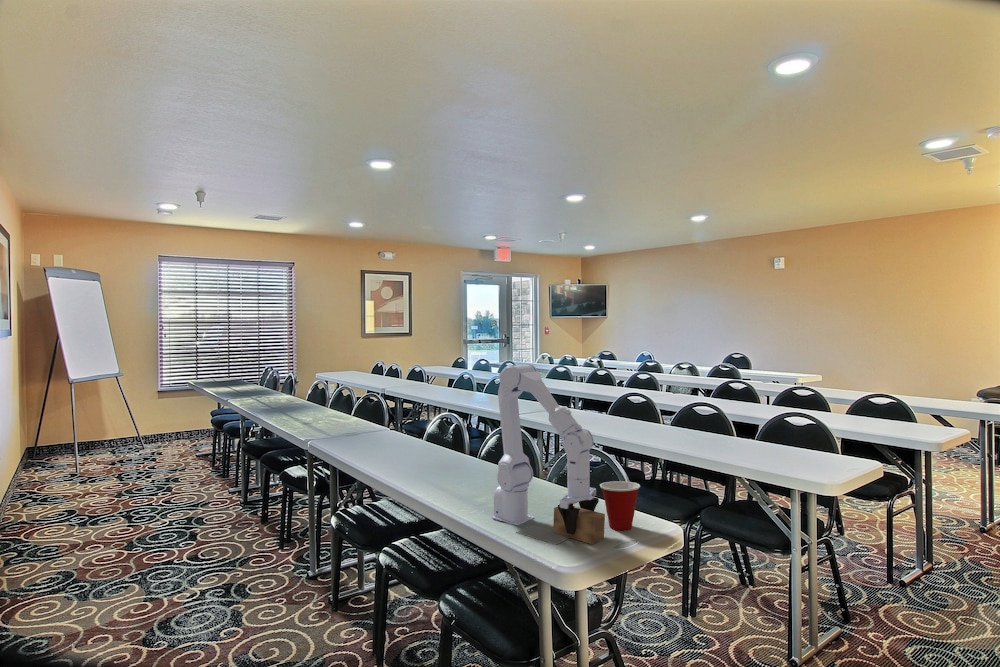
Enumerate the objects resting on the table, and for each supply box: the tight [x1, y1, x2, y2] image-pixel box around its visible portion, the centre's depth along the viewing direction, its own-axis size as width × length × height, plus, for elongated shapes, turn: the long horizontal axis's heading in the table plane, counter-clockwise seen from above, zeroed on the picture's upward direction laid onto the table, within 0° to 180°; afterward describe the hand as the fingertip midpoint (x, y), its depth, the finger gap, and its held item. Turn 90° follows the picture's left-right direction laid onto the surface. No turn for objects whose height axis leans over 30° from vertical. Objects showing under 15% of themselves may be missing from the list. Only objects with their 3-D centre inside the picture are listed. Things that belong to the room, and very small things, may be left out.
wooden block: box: [552, 505, 606, 545], centre depth 144 cm, size 12×6×6 cm, turn 50°
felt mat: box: [515, 524, 570, 546], centre depth 145 cm, size 13×7×1 cm, turn 50°
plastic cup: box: [599, 480, 641, 532], centre depth 151 cm, size 11×11×12 cm
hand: (578, 529), depth 144 cm, fingers open, 7 cm apart
